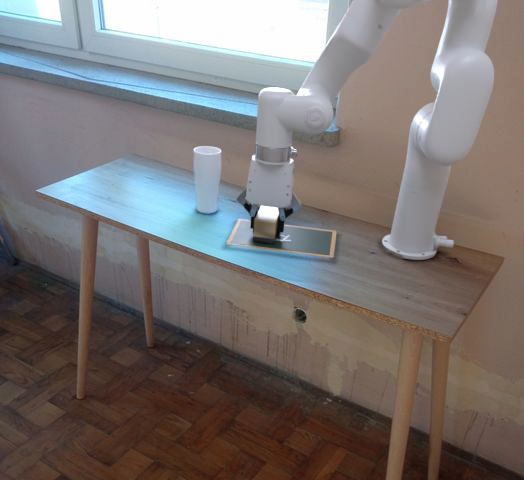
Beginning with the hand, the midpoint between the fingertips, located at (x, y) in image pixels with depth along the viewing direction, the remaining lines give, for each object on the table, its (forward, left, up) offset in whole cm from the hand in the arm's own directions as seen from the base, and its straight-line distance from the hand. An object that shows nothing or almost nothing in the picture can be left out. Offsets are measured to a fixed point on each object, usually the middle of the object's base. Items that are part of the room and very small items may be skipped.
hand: (266, 232), depth 128 cm
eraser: (0, 0, 0) cm, 0 cm away
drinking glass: (+17, -13, -2) cm, 21 cm away
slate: (-4, 0, -2) cm, 4 cm away
